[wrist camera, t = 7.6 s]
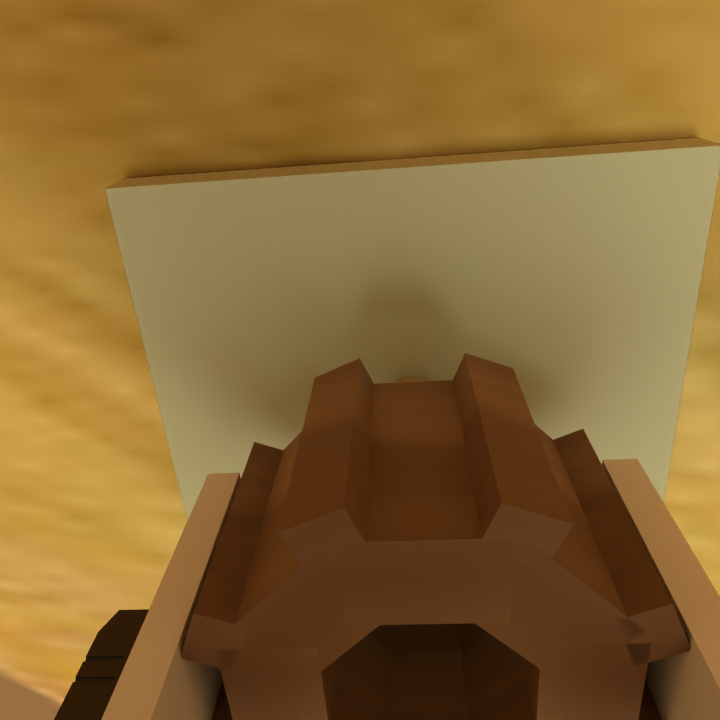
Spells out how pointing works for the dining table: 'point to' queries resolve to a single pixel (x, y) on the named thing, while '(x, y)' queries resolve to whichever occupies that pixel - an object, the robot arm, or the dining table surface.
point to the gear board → (421, 288)
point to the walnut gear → (430, 566)
